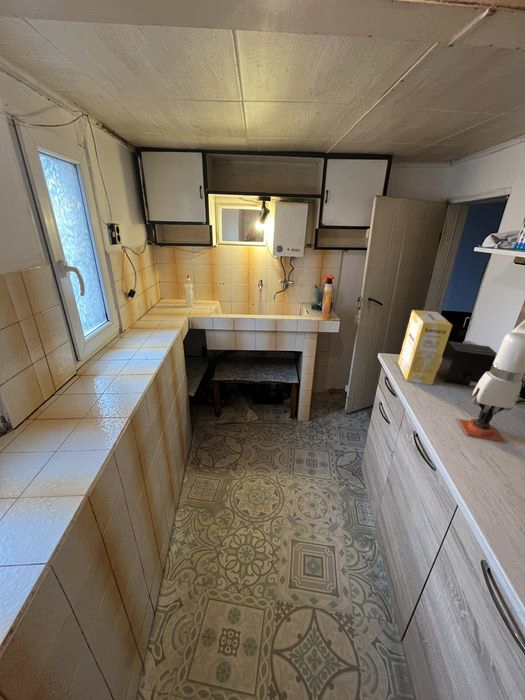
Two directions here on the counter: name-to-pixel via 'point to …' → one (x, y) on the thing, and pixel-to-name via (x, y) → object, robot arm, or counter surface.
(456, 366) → the toaster
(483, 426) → the button
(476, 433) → the switch block
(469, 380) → the press handle
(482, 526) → the counter surface
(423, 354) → the pasta box
